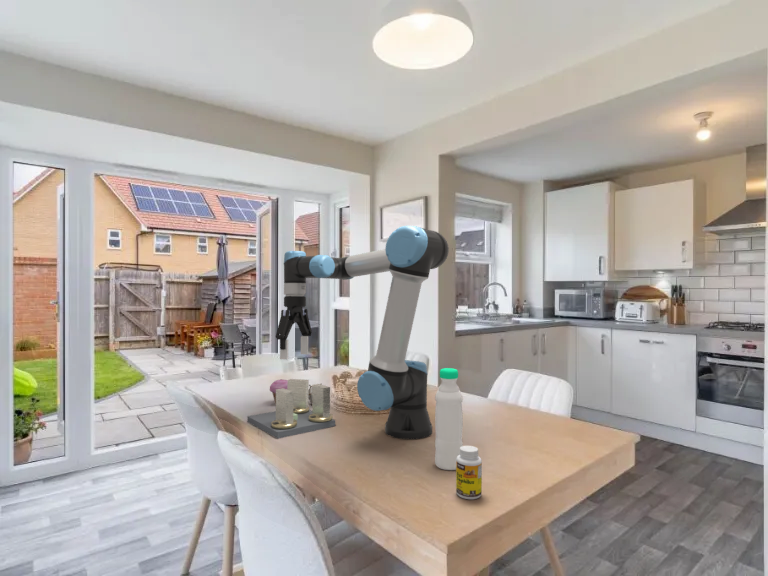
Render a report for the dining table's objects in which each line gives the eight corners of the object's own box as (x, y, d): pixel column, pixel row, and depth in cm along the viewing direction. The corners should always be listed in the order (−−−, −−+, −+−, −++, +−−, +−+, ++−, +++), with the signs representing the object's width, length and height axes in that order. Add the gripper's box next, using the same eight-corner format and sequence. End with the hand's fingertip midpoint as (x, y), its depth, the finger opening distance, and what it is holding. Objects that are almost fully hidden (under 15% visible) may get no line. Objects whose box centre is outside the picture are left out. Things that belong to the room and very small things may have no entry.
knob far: (312, 408, 162) (312, 378, 162) (304, 414, 154) (304, 382, 155) (291, 407, 164) (292, 377, 164) (282, 412, 156) (283, 381, 156)
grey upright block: (337, 419, 149) (337, 386, 149) (316, 423, 143) (317, 389, 144) (324, 414, 155) (324, 382, 155) (304, 418, 150) (304, 385, 150)
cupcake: (272, 407, 172) (272, 382, 172) (267, 403, 180) (267, 378, 180) (295, 405, 176) (295, 380, 176) (289, 400, 184) (289, 376, 184)
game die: (319, 414, 177) (325, 397, 171) (300, 406, 177) (305, 389, 172) (327, 398, 184) (332, 382, 179) (308, 391, 185) (313, 374, 179)
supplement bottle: (451, 496, 97) (451, 449, 97) (462, 487, 102) (462, 442, 102) (475, 503, 94) (475, 454, 94) (485, 493, 98) (485, 447, 99)
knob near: (301, 425, 141) (301, 391, 141) (278, 430, 136) (278, 394, 136) (289, 420, 147) (289, 386, 147) (267, 424, 142) (267, 390, 142)
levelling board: (335, 425, 149) (335, 414, 149) (277, 438, 135) (277, 425, 135) (301, 411, 166) (301, 401, 166) (247, 421, 153) (247, 410, 153)
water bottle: (429, 465, 114) (429, 368, 115) (446, 458, 119) (446, 365, 120) (451, 473, 109) (451, 372, 110) (468, 466, 114) (468, 369, 115)
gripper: (285, 295, 141) (284, 362, 141) (321, 295, 165) (321, 352, 164) (264, 295, 144) (264, 361, 143) (303, 295, 167) (303, 351, 167)
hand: (294, 356), depth 154 cm, fingers open, 13 cm apart
